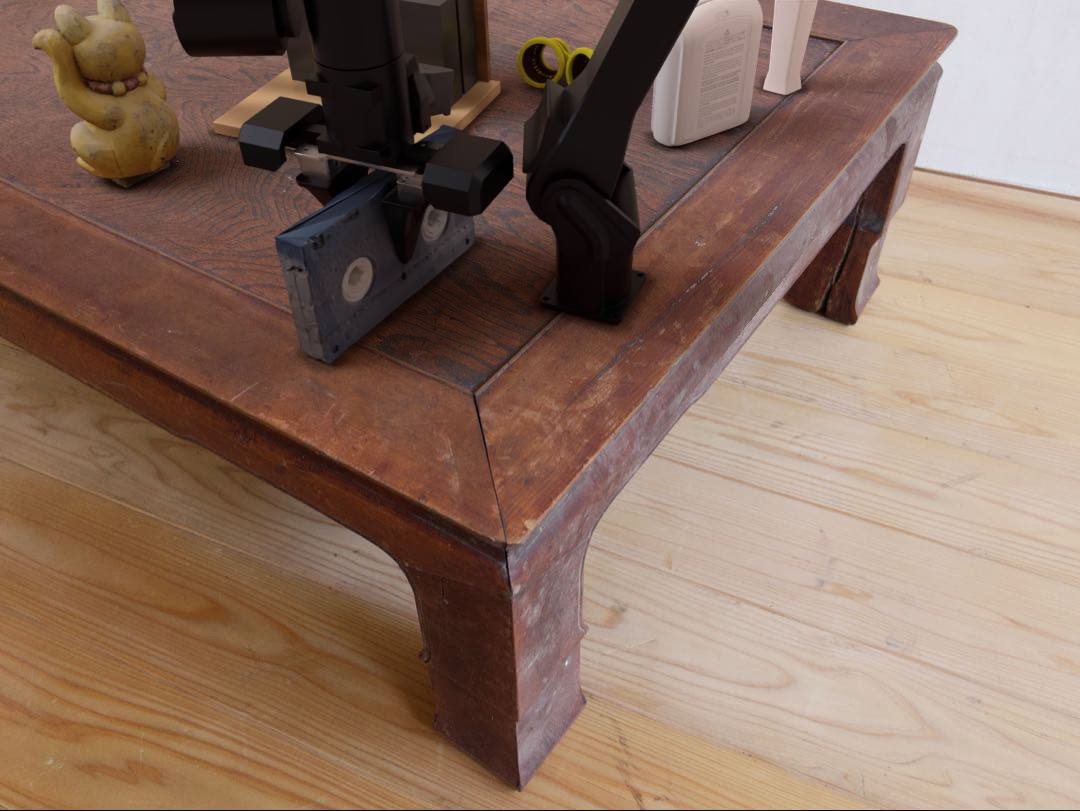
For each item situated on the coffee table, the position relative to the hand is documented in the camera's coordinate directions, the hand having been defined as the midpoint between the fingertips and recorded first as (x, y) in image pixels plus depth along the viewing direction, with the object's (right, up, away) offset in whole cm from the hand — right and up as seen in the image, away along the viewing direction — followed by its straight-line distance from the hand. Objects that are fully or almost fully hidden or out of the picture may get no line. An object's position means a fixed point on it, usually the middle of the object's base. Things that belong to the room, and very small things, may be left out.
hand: (389, 256), depth 73 cm
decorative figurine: (-25, +11, +17) cm, 32 cm away
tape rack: (-6, +18, +24) cm, 31 cm away
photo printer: (+26, +15, +21) cm, 37 cm away
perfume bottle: (+36, +21, +27) cm, 50 cm away
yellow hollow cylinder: (+14, +22, +28) cm, 38 cm away
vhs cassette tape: (0, -3, +3) cm, 4 cm away
